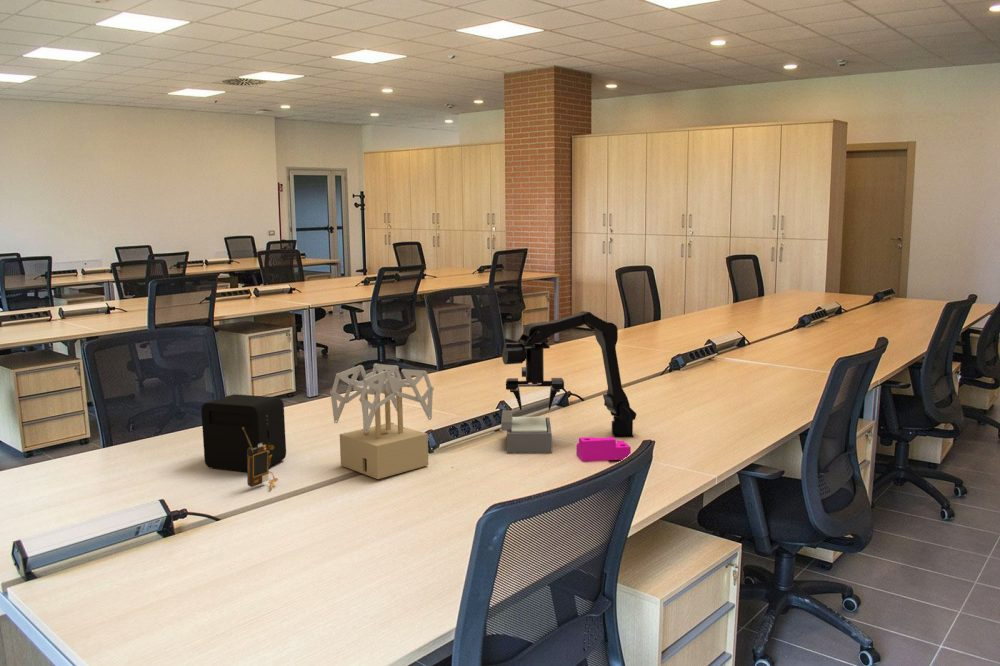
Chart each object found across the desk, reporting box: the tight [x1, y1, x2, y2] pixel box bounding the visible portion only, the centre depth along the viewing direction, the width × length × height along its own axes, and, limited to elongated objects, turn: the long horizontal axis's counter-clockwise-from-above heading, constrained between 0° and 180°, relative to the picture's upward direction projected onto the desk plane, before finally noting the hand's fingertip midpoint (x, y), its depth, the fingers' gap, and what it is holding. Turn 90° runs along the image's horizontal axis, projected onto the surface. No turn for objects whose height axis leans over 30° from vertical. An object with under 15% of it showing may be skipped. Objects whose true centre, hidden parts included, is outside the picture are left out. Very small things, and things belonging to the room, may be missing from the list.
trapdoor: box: [500, 409, 547, 432], centre depth 252 cm, size 14×18×3 cm
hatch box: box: [506, 416, 553, 454], centre depth 252 cm, size 14×21×6 cm, turn 178°
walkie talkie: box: [242, 427, 279, 489], centre depth 215 cm, size 13×13×18 cm
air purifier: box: [200, 393, 287, 473], centre depth 234 cm, size 20×15×20 cm
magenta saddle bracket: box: [575, 436, 632, 463], centre depth 237 cm, size 15×6×8 cm
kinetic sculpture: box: [329, 363, 435, 480], centre depth 230 cm, size 25×20×30 cm
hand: (535, 409), depth 251 cm, fingers open, 9 cm apart
